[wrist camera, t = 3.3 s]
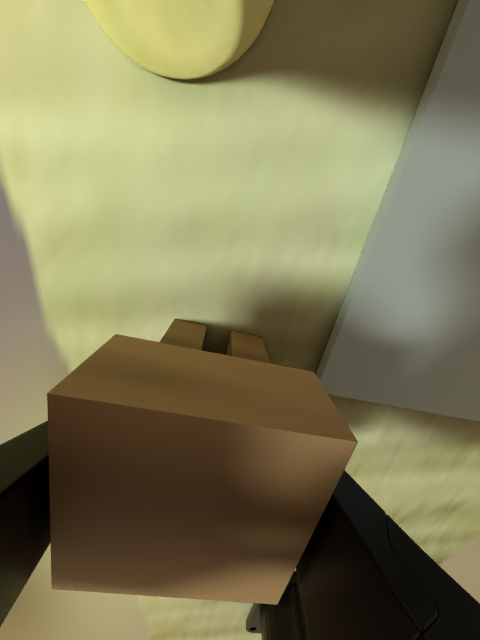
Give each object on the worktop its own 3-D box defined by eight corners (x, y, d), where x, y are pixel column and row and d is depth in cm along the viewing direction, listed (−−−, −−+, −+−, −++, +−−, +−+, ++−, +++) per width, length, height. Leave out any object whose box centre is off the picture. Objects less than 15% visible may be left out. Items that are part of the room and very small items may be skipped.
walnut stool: (253, 422, 12) (277, 604, 6) (144, 404, 12) (51, 588, 6) (283, 323, 11) (358, 442, 5) (158, 297, 10) (47, 393, 4)
